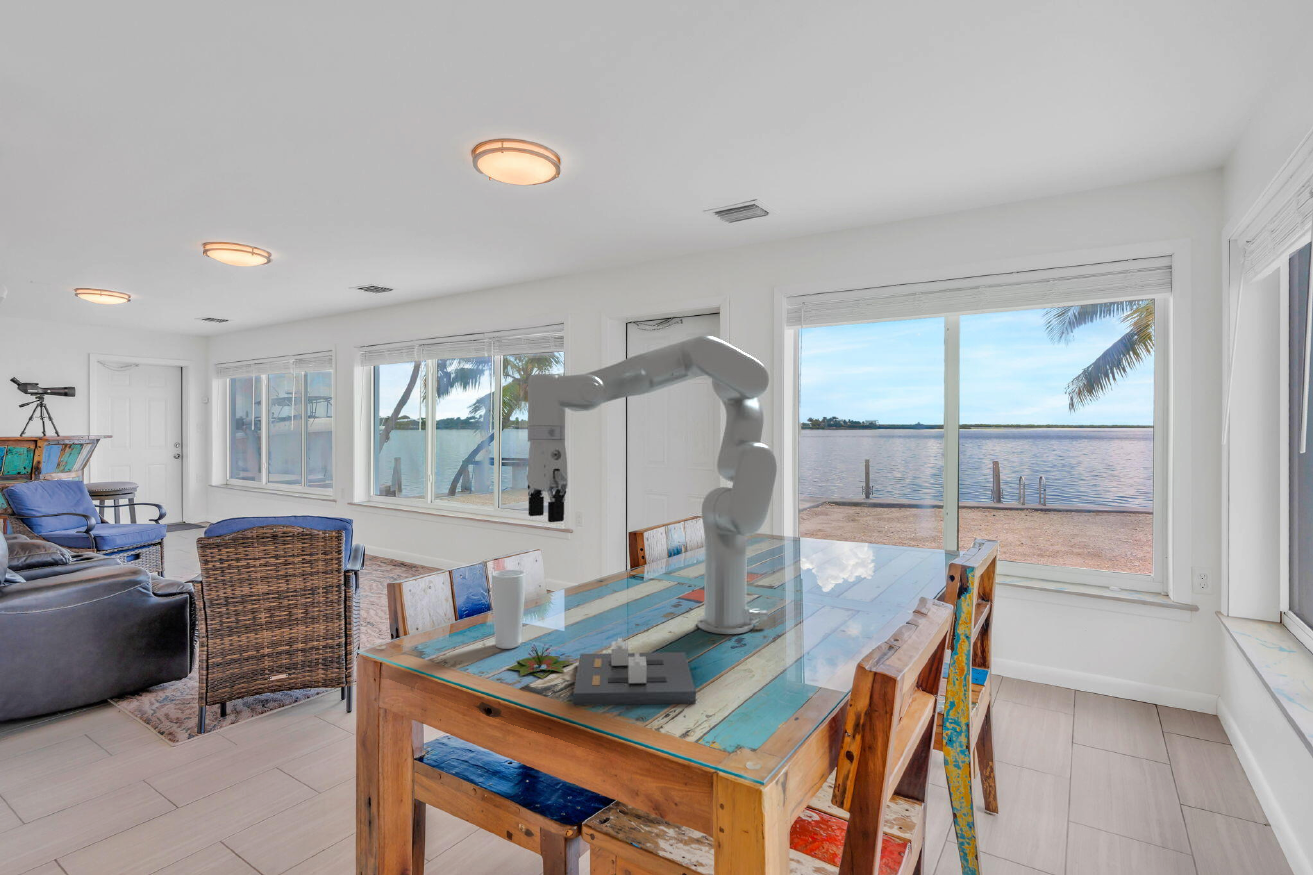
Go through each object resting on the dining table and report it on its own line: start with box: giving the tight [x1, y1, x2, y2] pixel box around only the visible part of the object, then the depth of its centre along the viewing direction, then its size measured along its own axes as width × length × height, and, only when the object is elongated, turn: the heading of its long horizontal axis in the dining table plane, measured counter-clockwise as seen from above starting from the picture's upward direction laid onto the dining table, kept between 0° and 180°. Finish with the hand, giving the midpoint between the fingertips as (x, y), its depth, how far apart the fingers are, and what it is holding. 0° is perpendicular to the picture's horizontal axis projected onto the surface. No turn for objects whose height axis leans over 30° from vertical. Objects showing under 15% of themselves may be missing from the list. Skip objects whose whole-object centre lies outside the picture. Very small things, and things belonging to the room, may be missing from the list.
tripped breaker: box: [628, 652, 647, 683], centre depth 109 cm, size 3×4×4 cm
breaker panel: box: [572, 651, 697, 707], centre depth 113 cm, size 20×18×2 cm
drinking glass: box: [491, 569, 526, 650], centre depth 131 cm, size 7×7×15 cm
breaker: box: [610, 637, 629, 666], centre depth 117 cm, size 3×4×4 cm
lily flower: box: [506, 642, 574, 680], centre depth 120 cm, size 12×12×5 cm
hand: (545, 518), depth 130 cm, fingers open, 9 cm apart
